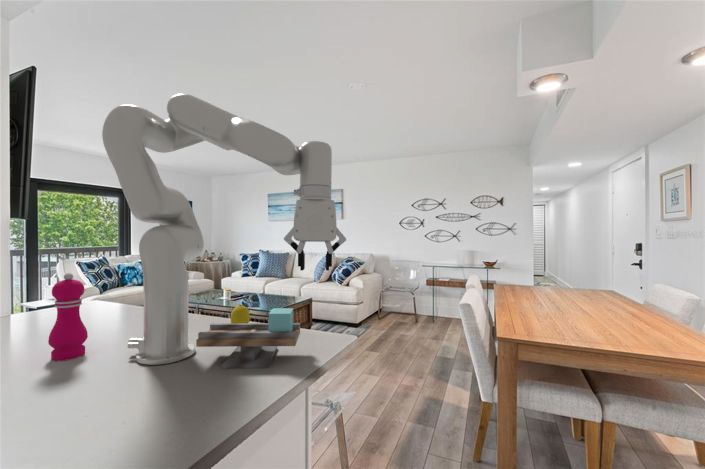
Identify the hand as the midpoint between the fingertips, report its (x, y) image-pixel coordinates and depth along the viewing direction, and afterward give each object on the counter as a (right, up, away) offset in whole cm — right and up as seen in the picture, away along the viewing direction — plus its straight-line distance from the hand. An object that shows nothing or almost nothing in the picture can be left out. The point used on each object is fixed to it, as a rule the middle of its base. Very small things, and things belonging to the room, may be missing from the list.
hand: (315, 269), depth 81 cm
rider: (-8, -15, 0) cm, 17 cm away
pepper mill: (-59, -21, 0) cm, 63 cm away
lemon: (-25, -21, +21) cm, 39 cm away
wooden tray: (-15, -21, 0) cm, 26 cm away
